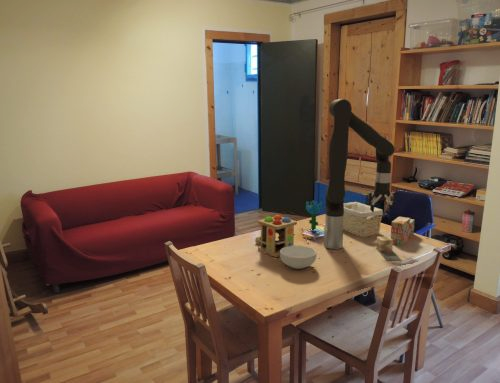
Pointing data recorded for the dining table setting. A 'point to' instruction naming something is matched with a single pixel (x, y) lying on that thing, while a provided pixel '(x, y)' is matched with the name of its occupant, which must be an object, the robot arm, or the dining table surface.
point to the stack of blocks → (402, 230)
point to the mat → (390, 256)
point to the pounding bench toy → (269, 234)
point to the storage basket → (361, 219)
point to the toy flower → (313, 212)
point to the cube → (384, 244)
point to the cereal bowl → (298, 256)
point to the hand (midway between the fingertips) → (380, 211)
